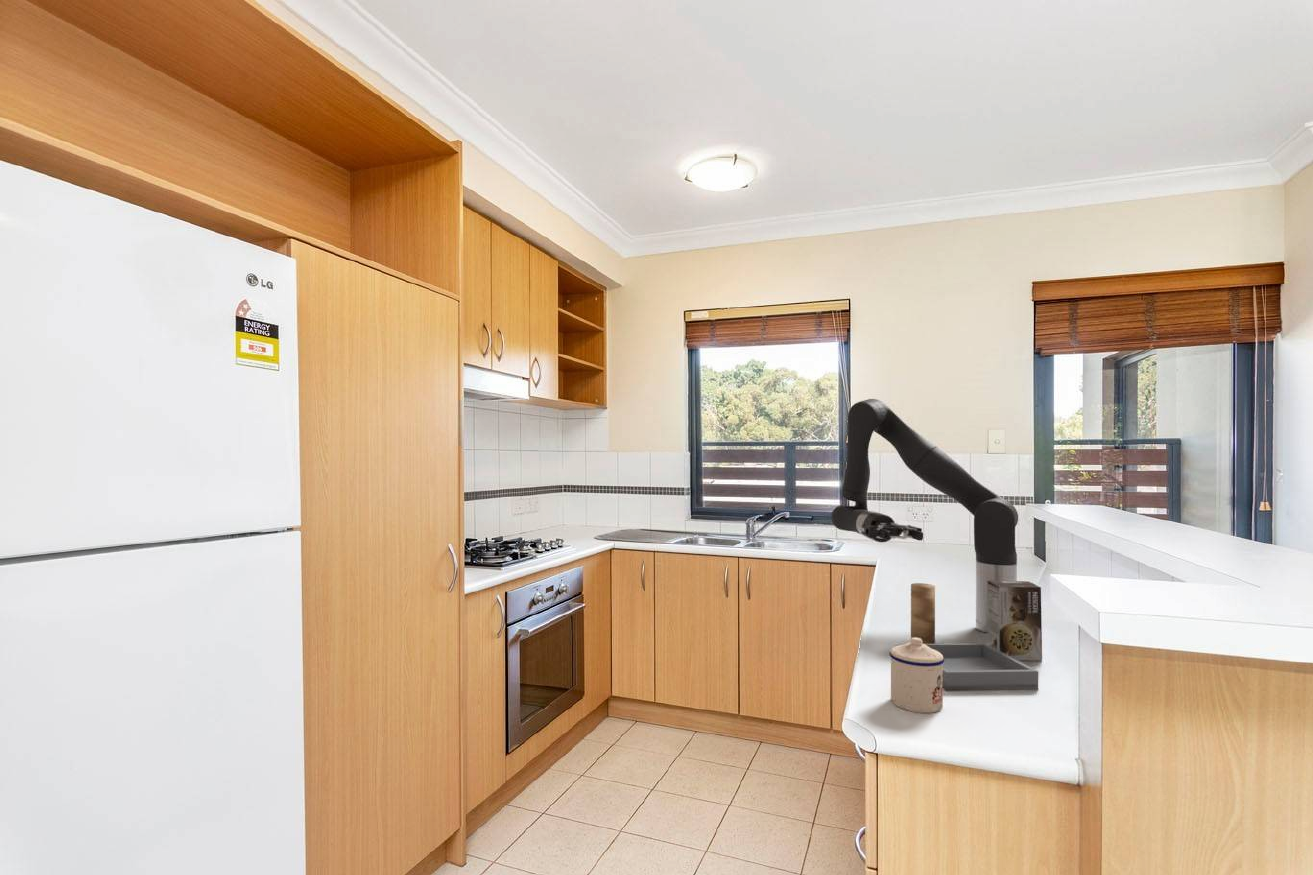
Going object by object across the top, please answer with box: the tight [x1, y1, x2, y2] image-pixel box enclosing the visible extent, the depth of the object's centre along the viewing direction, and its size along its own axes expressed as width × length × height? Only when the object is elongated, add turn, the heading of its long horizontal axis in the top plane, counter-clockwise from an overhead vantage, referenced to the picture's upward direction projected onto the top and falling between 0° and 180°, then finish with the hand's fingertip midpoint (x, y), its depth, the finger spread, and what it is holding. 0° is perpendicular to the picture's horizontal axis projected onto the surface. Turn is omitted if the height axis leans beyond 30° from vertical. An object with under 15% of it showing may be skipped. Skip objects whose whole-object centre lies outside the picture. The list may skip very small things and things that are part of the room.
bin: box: [925, 642, 1039, 692], centre depth 132 cm, size 18×18×4 cm
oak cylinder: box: [910, 582, 936, 644], centre depth 151 cm, size 5×5×14 cm
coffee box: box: [987, 580, 1043, 662], centre depth 144 cm, size 9×6×16 cm
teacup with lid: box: [889, 637, 944, 714], centre depth 117 cm, size 12×9×12 cm
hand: (905, 536), depth 161 cm, fingers open, 8 cm apart
